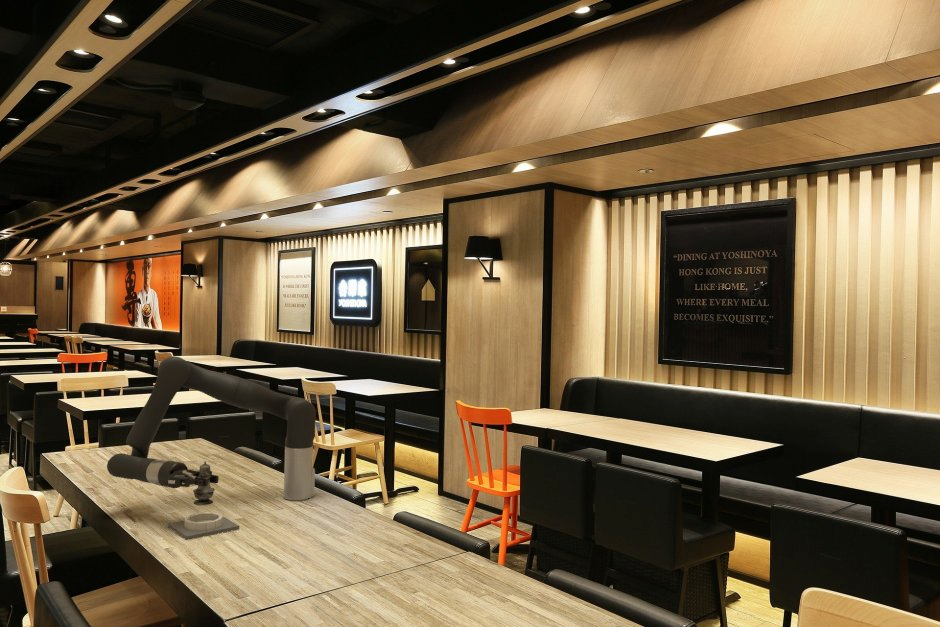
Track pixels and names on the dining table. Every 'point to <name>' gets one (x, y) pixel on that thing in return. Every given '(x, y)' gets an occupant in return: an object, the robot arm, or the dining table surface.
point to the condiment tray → (203, 532)
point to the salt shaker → (204, 492)
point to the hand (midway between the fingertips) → (212, 481)
